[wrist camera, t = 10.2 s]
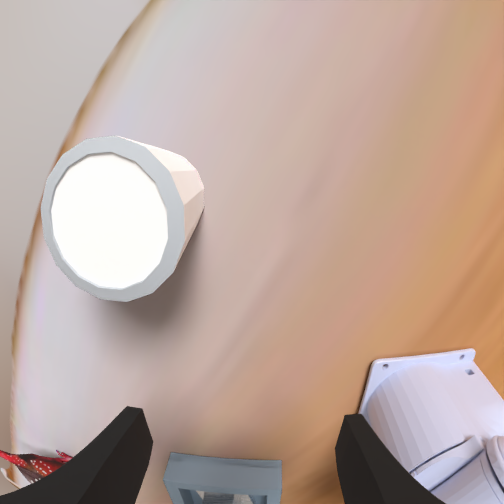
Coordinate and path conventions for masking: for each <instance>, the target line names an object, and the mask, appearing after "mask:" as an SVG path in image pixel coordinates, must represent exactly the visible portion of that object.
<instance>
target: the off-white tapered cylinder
mask: <svg viewBox="0 0 504 504" xmlns="http://www.w3.org/2000/svg"><path fill="white" fill-rule="evenodd" d="M203 209H204V186H203V184H202V181H201V179H200V176H199V174H198V172H197V170H196V169H195V168H194V167H193V166H192V165H191V164H190V163H189V162H188V161H187V160H186V159H185V158H184V157H183V156H180V155H178V154H175V153H172V152H170V151H167V150H164V149H161V148H158V147H154V146H151V145H147V144H144V143H141V142H137V141H134V140H130V139H127V138H123V137H119V136H106V137H98V138H90V139H86V140H84V141H82V142H81V143H79V144H78V145H76V146H75V147H73V148H72V149H70V150H69V151H67V152H66V153H64V154H63V155H62V156H61V158H60V159H59V161H58V162H57V164H56V166H55V167H54V169H53V170H52V172H51V173H50V175H49V177H48V178H47V181H46V185H45V190H44V194H43V199H42V204H41V216H42V225H43V233H44V239H45V241H46V243H47V246H48V248H49V250H50V252H51V254H52V257H53V259H54V261H55V263H56V265H57V266H58V267H59V268H60V270H61V271H62V272H63V273H64V274H65V275H66V276H67V277H68V278H69V279H70V281H71V282H72V283H73V284H74V285H75V286H76V287H78V288H80V289H82V290H84V291H86V292H87V293H89V294H91V295H93V296H95V297H97V298H99V299H103V300H112V301H122V302H128V301H131V300H134V299H137V298H140V297H143V296H146V295H149V294H152V293H153V292H154V291H155V290H156V289H157V288H158V287H159V286H160V285H161V284H162V283H163V282H164V281H165V280H166V279H167V278H168V277H169V276H170V275H171V274H172V273H173V272H174V270H175V268H176V266H177V264H178V262H179V260H180V258H181V256H182V254H183V252H184V250H185V248H186V246H187V244H188V242H189V240H190V238H191V236H192V234H193V232H194V230H195V228H196V226H197V224H198V221H199V219H200V216H201V214H202V211H203Z"/></svg>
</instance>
